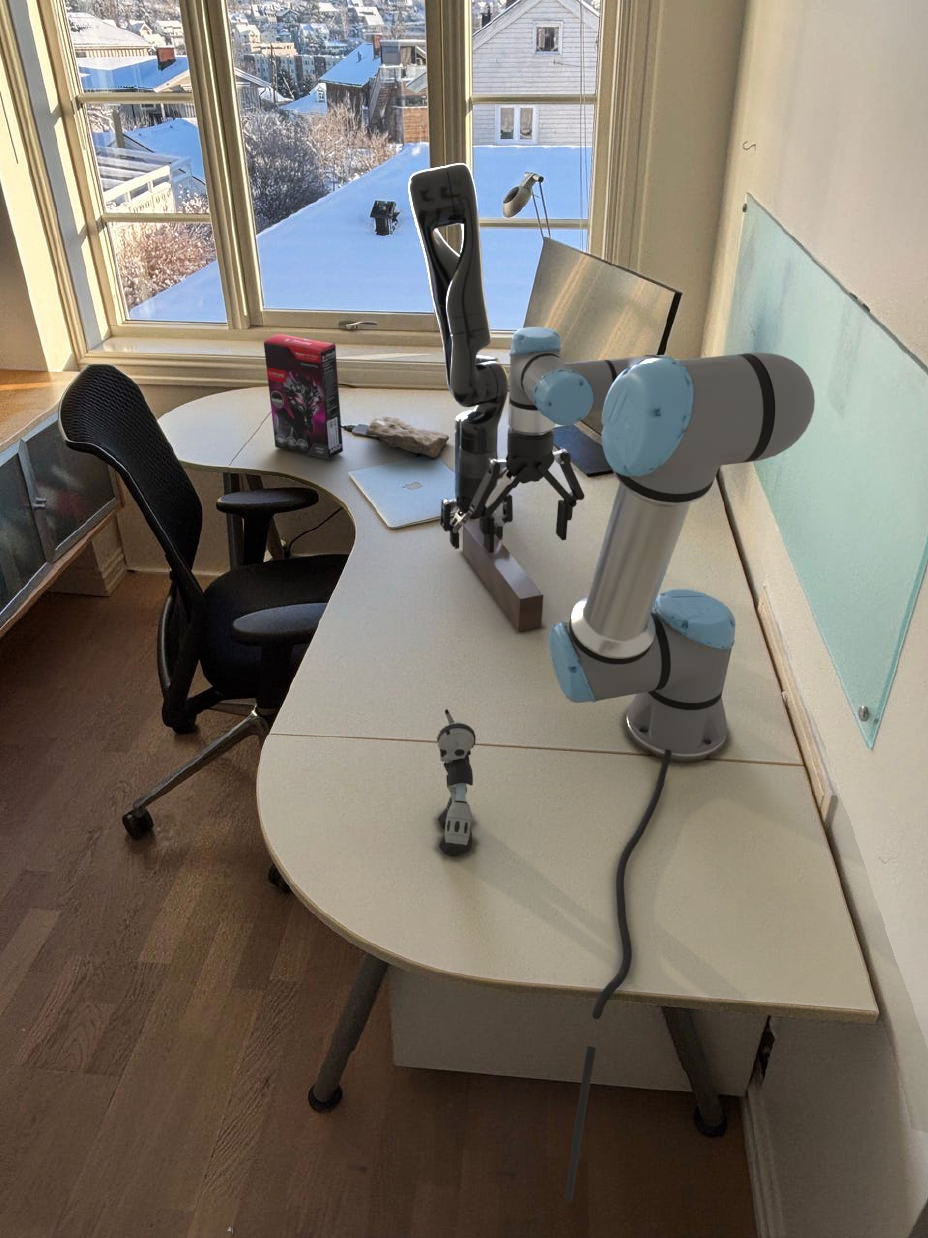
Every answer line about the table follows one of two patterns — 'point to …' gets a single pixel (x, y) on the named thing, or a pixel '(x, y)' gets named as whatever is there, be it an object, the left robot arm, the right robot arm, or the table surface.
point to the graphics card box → (304, 395)
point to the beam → (504, 579)
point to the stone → (407, 436)
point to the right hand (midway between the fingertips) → (525, 542)
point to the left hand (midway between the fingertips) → (476, 544)
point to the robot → (456, 785)
